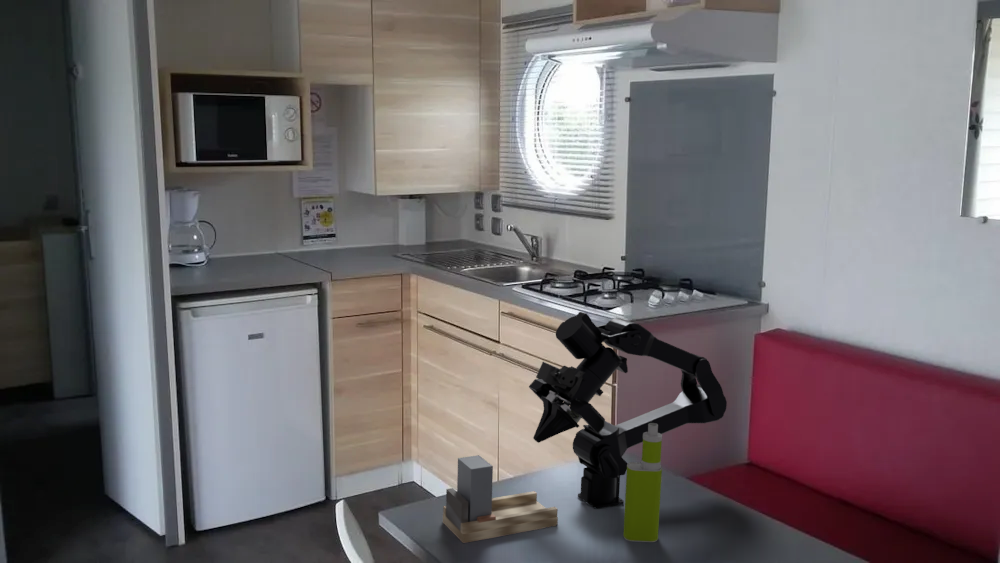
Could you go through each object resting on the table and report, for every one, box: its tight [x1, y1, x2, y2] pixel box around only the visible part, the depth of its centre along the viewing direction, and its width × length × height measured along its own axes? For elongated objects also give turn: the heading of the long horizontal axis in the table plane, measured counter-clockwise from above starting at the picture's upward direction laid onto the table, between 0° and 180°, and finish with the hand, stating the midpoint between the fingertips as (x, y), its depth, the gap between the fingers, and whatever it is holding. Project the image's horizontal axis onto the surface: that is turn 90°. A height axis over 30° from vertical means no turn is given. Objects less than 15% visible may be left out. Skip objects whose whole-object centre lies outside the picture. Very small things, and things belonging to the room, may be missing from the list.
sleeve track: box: [442, 487, 559, 544], centre depth 153 cm, size 18×9×6 cm, turn 116°
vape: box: [623, 423, 663, 543], centre depth 149 cm, size 4×6×20 cm, turn 88°
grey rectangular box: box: [456, 454, 494, 522], centre depth 151 cm, size 4×6×10 cm
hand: (535, 440), depth 157 cm, fingers closed
